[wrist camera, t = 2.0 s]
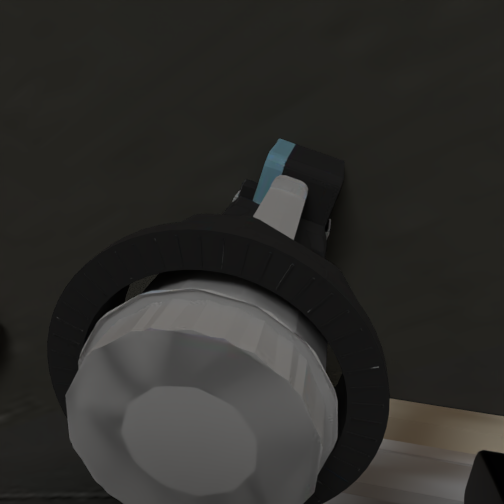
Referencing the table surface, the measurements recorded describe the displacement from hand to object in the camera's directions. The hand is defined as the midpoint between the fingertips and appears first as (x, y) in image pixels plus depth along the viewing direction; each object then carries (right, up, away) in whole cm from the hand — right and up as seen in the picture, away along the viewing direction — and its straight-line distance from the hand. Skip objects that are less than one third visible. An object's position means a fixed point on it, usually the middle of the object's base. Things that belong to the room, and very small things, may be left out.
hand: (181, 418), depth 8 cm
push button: (+2, +3, +8) cm, 9 cm away
